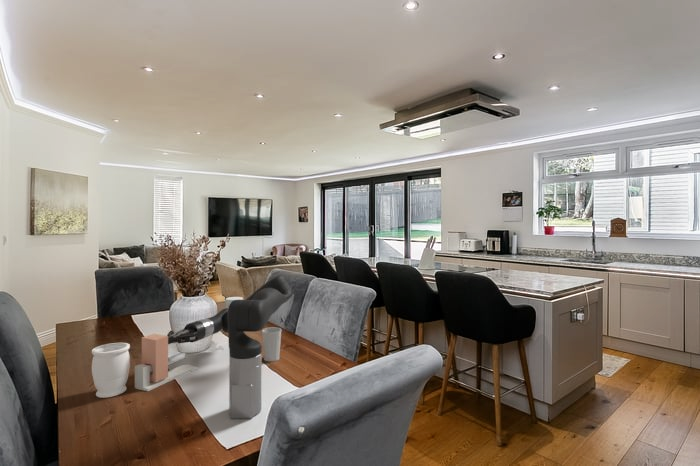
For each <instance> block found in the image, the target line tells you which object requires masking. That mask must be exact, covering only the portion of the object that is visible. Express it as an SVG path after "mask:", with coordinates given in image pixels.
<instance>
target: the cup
mask: <svg viewBox="0 0 700 466" xmlns="http://www.w3.org/2000/svg"><path fill="white" fill-rule="evenodd" d="M261 333H262V334H261V336H262V337H261V338H262V346H263V348H262V349H263V360H264V361H265V362H277V361H279V360H280V352H281V341H282V338H281V337H282V328H280V327H275V326H273V327H270V326H269V327H266V328H263V329H262V330H261Z"/></svg>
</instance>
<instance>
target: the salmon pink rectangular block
mask: <svg viewBox="0 0 700 466" xmlns="http://www.w3.org/2000/svg"><path fill="white" fill-rule="evenodd" d="M168 358H169V344H168V336H167V335H162V334H157V333H153V334H149V335H146V336H145V335H144V336H142V337H141V364H144V365H153V371H152V372H150V381H152V382H158V381H160V380H162V379H164V378H167V377H168V371H169V365H168Z"/></svg>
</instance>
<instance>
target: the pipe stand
mask: <svg viewBox="0 0 700 466" xmlns="http://www.w3.org/2000/svg"><path fill="white" fill-rule="evenodd" d="M185 357H186V353H185V352H184V351H183V352H182V351H181V352H179V353H177V354H176V353H175V354H174V355H172V356H168V366H169V365H171V364H173V363H176V362H178V361H181V360H184V359H185ZM196 369H197V366H195V365H190V364H186V363H185V364H182V365H179V366H177V367H175V368H173V369H171V370H168V377H167V378H164V379H162V380H160V381H158V382H152V381H150V372H152V371H153V365H144V364H142V363H140V364H137V365H135V366H134V389H137V390H138V391H140V390H141V391H144V392H145V391H146V392H149V391H151V390H152V391H153V390H155V389H156V388H158V387H160V386H161V387H162V385H165V384H167V383H169V382H171V381H174V380H175V379H177V378H179V377H181V376H184V375H186V374H188V373H190V372H192V371H195V370H196Z"/></svg>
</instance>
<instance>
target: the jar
mask: <svg viewBox="0 0 700 466" xmlns="http://www.w3.org/2000/svg"><path fill="white" fill-rule="evenodd" d="M130 348H131V344H130V343H128V342H114V343H106V344H102V345H99V346H96V347H94V348H93V349H92V350H91V354H92V355H93V357H92V361H91V375H92V379H93V384H94V387H95V389H96V390H97V391H96V393H95V396H96V397H97V398H100V399H101V398H102V399H104V398H113V397H116V396H119V395H121V394H123V393H124V392H126V391H127V386H126V384H127V382H128V379H129V372H130V369H131V356H130V352H129V350H130Z"/></svg>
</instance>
